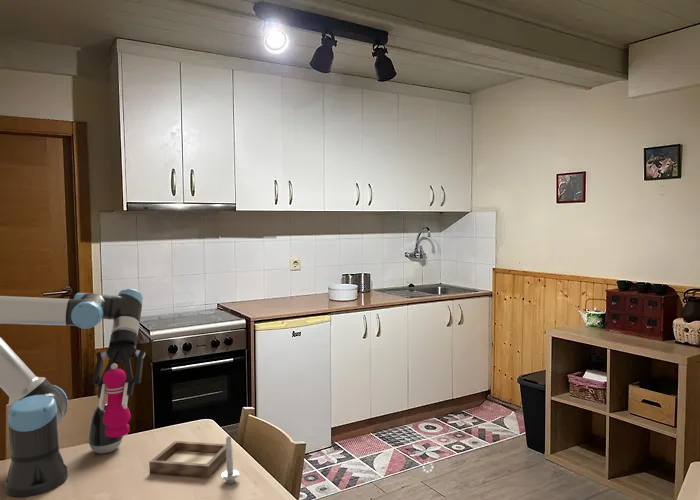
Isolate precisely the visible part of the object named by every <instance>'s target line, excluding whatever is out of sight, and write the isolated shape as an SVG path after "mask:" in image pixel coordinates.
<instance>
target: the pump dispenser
mask: <svg viewBox="0 0 700 500" xmlns="http://www.w3.org/2000/svg"><path fill="white" fill-rule="evenodd" d="M107 403H108V402H105V406H104V410H100V408H99V405H97V406H96V408H95V409H94V411H93V414H92V416H91V419H90V423H89V427H88V428H89V429H88V435H87V443H88V445H89V447H90V448H91V450H92V451H93V452H95V453H96V454H100V455H101V454H103V455H104V454H109V453H112V452H114V451H115V450H117V449H118V448H119V447H120V445H121V443H122V441H123V438H124V435H123V436H120V437H107V436H106V434H105V429H106V427H107V426H106V425H104V423H103V415H104V412H105V409H106V406H107Z"/></svg>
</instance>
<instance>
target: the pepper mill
mask: <svg viewBox="0 0 700 500" xmlns="http://www.w3.org/2000/svg"><path fill="white" fill-rule="evenodd" d="M118 365H119V364H115V363H114V364H112V365H111V369H110V370H108V371H107V372H106V373H105V374H104V377H103V382H104V384H105V385H106V386H107V387H106V393H107V402H106V403H107V406H106V409H105V412H104V415H103V423H104V425H106V426H107V427H106V429H105V434H106V436H107V437H120V436H123V437H124V436H125V435H127V434H128V433H130V424H129V422H130V420H131V418H132V416H131V411H130V408H129V407H128V406H127V408H126V409H124V408H123V406H122V399H123V393H124V386H125V383H126V381H127V372H126V371H125V370H123V369H121V368H118Z"/></svg>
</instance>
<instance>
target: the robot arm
mask: <svg viewBox="0 0 700 500" xmlns="http://www.w3.org/2000/svg"><path fill="white" fill-rule="evenodd" d="M73 297H74V298H73V299H72V298H59V297H58V298H56V297H55V298H54V297H52V298H51V297H36V296H35V297H34V296H33V297H30V296H13V295H12V296H11V295H0V324H1V325H3V324H5V325H34V326H35V325H38V326H39V325H40V326H71V327H72V326H74V327H77V328H80V329H82V330H83V329H84V330H86V329H92V328H94V327H95V326H97V325H98V324H99V323H100V322H101V321H102V320H112V321H113V322H112V327H111V334H110V338H109V344H108V348H107V349H106V351H104V352H100V351H97V352H96V354H95V355H96V356H95V357H96V362H95V363H96V364H95V367H94V371H93V376H92V380H91V382H92V384H93V386H94V387H96V388H97V393H96V396H97V398H98V399H99V400H98V406H99V408H100V410H104V406H105V403H106V399H107V396H108V394H107V393H106V387H107V386H106V385H105V384H104V382H103V377H104V374H105V373H106V372H107V371H108V370H110V369H111V365H112V364H114V363H115V364H117V365H119V364H123V365H125V373H126V379H127V382H125V383H124V385H125V386H124V393H123V399H122V406H123V408H124V409H126V408H127V407H128V402H129V401H128V400H129V397H132V396H133V391H134V386H135V385H137V384H138V385H140V384H141V383H142V375H143V367H144V366H143V365H144V360H145V358H146V355H147V354H146V352H145V350H144V349H140V350H139V349H137V344H138V335H139V329H140V321H141V316H142V309H143V300H144V299H143V298H144V297H143V294H142V293H141V292H140V291H139V290H137V289H135V288H134V289H133V288H127V289H122V290H120V291H119V292H118V294H117V295H110V294H99V293H90V292H77V293H76V294H74V296H73ZM135 356H136V357H137V358H136V364H135V365H136V366H135V376H134V375H133V370H132V363H131V362H132V361H131V360H132V359H133V358H134V357H135ZM107 357H108V362H107V364H106V367H105V368H104V370H103V367H104V361H105V360H106V358H107ZM102 371H103V372H102ZM0 389H1V390H2V391H4V393H5V394H6V395H7V396H8V398H9V399H8V407H9V408H8V410H7V411H8V412H7V424H8V436H9V437H8V438H9V447H10V449H9V450H10V465H9V468H8V472H7V477H6V479H5V484H4V485H5V489H4V490H5V493H6V494H7V495H8V496H12V497H16V496H24V497H30V496H31V495H32V496H36V495H40V494H43V493H46V492H49V491H51V490H53V489H56V488H58V487H60V486H61V485H62V484H63V483H65V482H66V480H67V479H68V477H69V475H68V474H69V473H68V467H67V465H66V464H65V463H64V458H63V457H62V455H61V452H60V442H59V426H60V424H61V423H62V420H63V419H64V417H65V415H66V413H67V410H68V405H69V402H68V401H69V400H68V396H67V394H66V392H65V390H64V389H63V388H61V387H59V386H57V385H55V384H51V383H50V382H49V380H48V379H47V378H46V377H43V376H37V375H36V374H34V372H33V371H32V370H31V369H30V368H29V367H28V366H27V365H26V363H25V362H24V361H23V360H22V359H21V358H20V357H19V356H18V355H17V354H16V353H15V351H14V350H13V349H12V348H11V347H10V346H9V345H8V344H7V342H6V341H5V340H4V339H3V338H2V337H1V336H0Z"/></svg>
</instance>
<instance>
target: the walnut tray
mask: <svg viewBox="0 0 700 500" xmlns="http://www.w3.org/2000/svg"><path fill="white" fill-rule="evenodd" d="M226 457H227V456H226V443H214V442H212V443H210V442H197V441H196V442H195V441H183V440H182V441H181V440H174V441H173V442H172V443H171V444H169V445H168V446H167V447H165V448H164V449H163V450H162V451H161V452H160V453H158V454H157V455H156V456H155V457H153V458H152V459H151V460H150V461H148V463H149V474H150V475H162V476H175V477H188V478H198V479H210V478H211V477H212V476H213V475H214V473H216V471H218V469H219V468H220V467H222V465H223V464H224V463H225V462H226V461H227V460H226V459H227V458H226Z"/></svg>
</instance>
